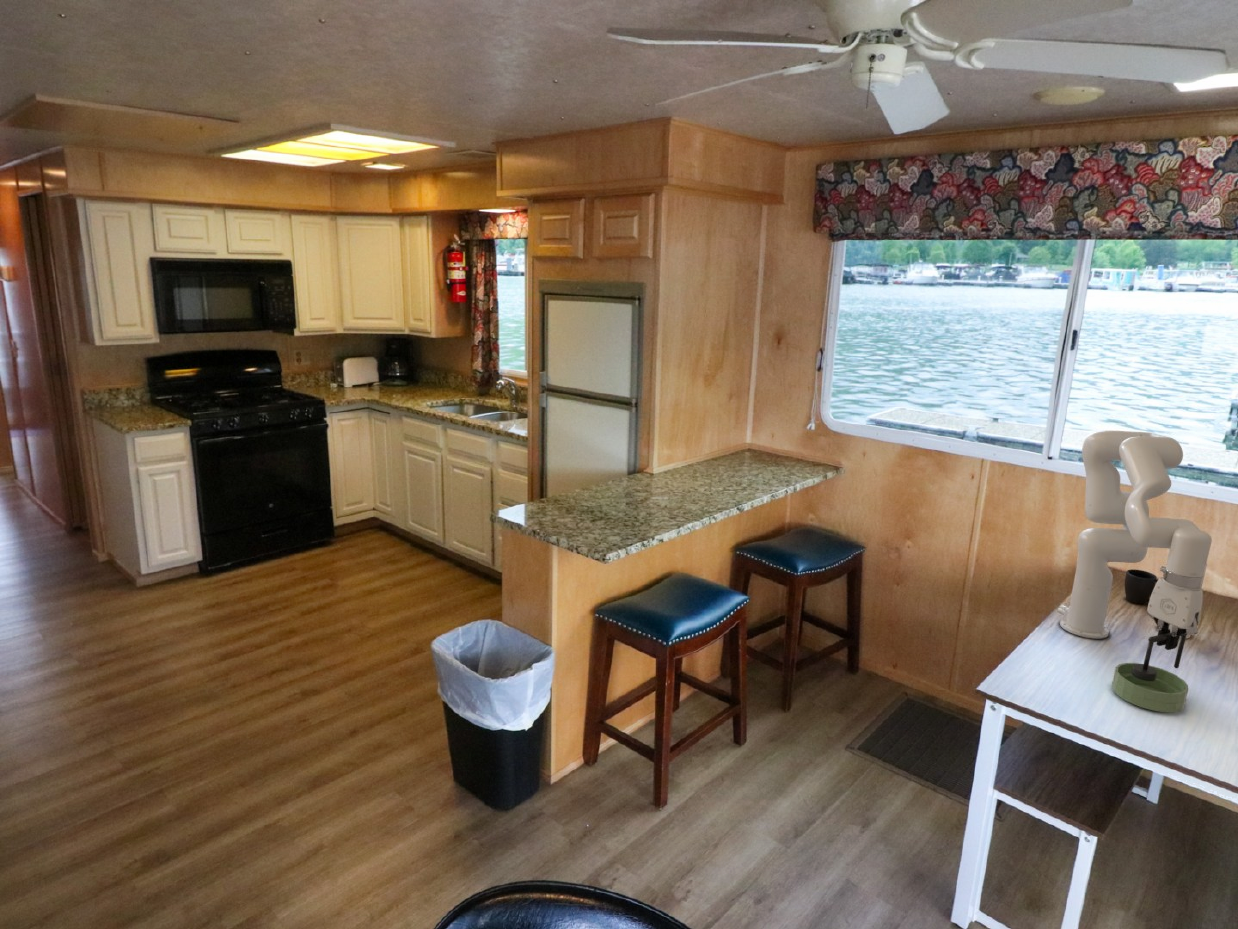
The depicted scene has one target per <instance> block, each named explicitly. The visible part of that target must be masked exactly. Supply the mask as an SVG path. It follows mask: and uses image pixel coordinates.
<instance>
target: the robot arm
mask: <svg viewBox="0 0 1238 929" xmlns="http://www.w3.org/2000/svg"><path fill="white" fill-rule="evenodd" d="M1081 456H1082V461H1083V466H1084V470H1085V495H1084V512H1085V513H1084V514H1085V516H1086V518H1087V520H1088V521H1090V522H1092V523H1096V524H1105V525H1122V529H1121V528H1109V527H1108V528H1105V527H1092V528H1087V529H1084V530H1082V531H1081V532H1080V533H1079V535H1078V537H1077V542H1076V543H1077V547H1076V548H1077V558H1076V559H1077V560H1076V568H1075V573H1074V578H1073V583H1072V589H1071V596H1070V600H1069V606H1067V605H1065V604H1060V605H1059V607H1058V608H1057V610H1056V612H1057V613H1058V614H1061V615H1063V618H1061V619H1060V620H1059V626H1060V627H1061V628H1062V629H1063V630H1064V631H1066V632H1068V633H1070V634H1073V635H1075V636H1078V637H1082V638H1086V639H1094V640H1099V639H1106V638H1108V636H1109V635H1110V634H1109V633H1110V631H1109V629H1108V627H1107V626H1105V621H1106V616H1107V613H1108V608H1109V602H1110V597H1111V594H1112V593H1111V592H1112V588H1113V582H1114V574H1113V572H1112V570H1111V569H1110V567H1109V566H1108V563H1125V564H1126V563H1127V564H1135V563H1136V564H1137V563H1141V562H1142V561H1143V560H1144V559H1145V558H1146V556H1147V553H1148V548H1152V549H1154V548H1155V549H1169V552H1168V556H1167V560H1166V564H1165V566H1163V565H1162V566H1161V567H1160V568H1159V571H1160V572H1162V573H1163V575H1162V576H1161V577H1159V578H1158V579H1157V580H1158V581H1157V582H1156V584H1155V587H1154V590H1153V592H1152V594H1151V596H1150V601H1149V603H1148V604H1147V612H1146V614H1147V615H1148V616H1149V617H1150V618H1151V619H1153V620H1154V622H1155V624H1156V629H1157V635H1162V634H1166V633H1170V629H1169V625H1170V624H1171V625H1173V628H1172V631H1171V634H1170V635H1168V637H1167V640H1162V641H1158V642H1156V646H1158V647H1163V646H1164V649H1165V651H1171V650H1175V649H1176V648H1178V646H1179V642H1180V638H1179V637H1180V635H1183V634H1191V635H1197V634H1198V633H1199V630H1198V625H1199V623H1200V620H1201V615H1202V610H1203V601H1204V598H1203V597H1204V594H1203V592H1204V591H1203V588H1200V586H1201V582H1202V578H1203V574H1204V570H1205V566H1206V562H1207V563H1208V558H1209V554H1210V550H1211V546H1212V542H1213V541H1212V536H1211V534H1209V533H1208V532H1207V531H1204V530H1202V529H1200V528H1199V527H1198V526H1197V525H1196V524H1195V523H1194V522H1193V521H1191V520H1190V519H1189V520H1188V519H1184V518H1172V517H1171V518H1170V517H1151V516H1150V508H1149V507H1150V506H1149V504H1148V501H1149V500H1152V499H1154V498H1155V499H1156V498H1158V497H1160V496H1162V495H1163V494H1165V493H1167V492H1168V491H1169V490H1170V489H1171V487H1172V479H1171V478H1170V476H1169V473H1168V471H1167V470H1170V469H1171V470H1172V469H1175V468H1177V467H1179V466H1180V465H1181V463H1182V462H1183V458H1184V451H1183V448H1182V445H1181V444H1180V443H1179V441H1177V440H1176V439H1174V438H1173V437H1170V436H1165V435H1161V434H1156V433H1153V432H1147V431H1146V432H1144V431H1128V430H1126V431H1125V430H1098V431H1094V432H1091V433H1089V434H1088V435H1087V436H1086V437H1085V438H1084V440H1083V443H1082V449H1081ZM1112 461H1117V462H1122V465H1123V467H1124V470H1125V473H1126V475H1127V478H1128V480H1129V483H1130V484H1131V487H1132V491H1121V474H1120V472H1119V470H1118V468H1117V467H1116V465H1115V464H1114V463H1113V462H1112Z"/></svg>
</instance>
